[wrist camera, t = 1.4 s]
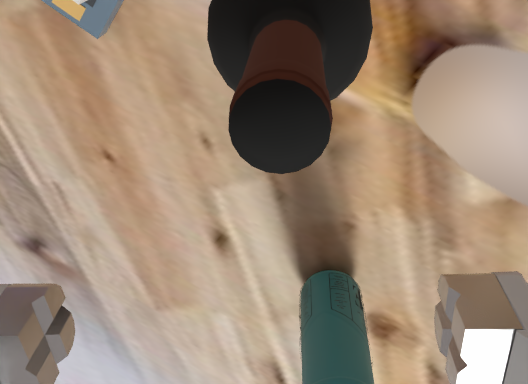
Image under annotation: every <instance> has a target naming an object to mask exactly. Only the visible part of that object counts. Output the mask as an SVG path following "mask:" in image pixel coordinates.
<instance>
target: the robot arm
mask: <svg viewBox="0 0 528 384" xmlns="http://www.w3.org/2000/svg"><path fill="white" fill-rule="evenodd" d="M437 290H438V293H439V296H440V299H441V301H440V302H439V303H438V304H437V305H436V306H435V316H434V323H435V334H436V340H437V344H438V347H439V350H440V352H441V353H442V354H443V355H444V356H446V357H447V362H446V369H445V370H446V373H447V376H448V379H449V382H450V384H528V284H527V283H526V281H525V279H524V278H523V276H522V274H520V273H519V272H517V271H515V272H493V273H479V274H446V275H440V278H439V281H438V289H437ZM64 300H65V295H64V293H63V290H62V288H61V286H59V285H57V284H0V384H54V382H55V380H56V378H57V376H58V374H59V370H58V367H57V363H59V362H60V361H61V360H63V359H64V358H65V357H67V356H68V354H69V352H70V350H71V348H72V345H73V341H74V335H75V326H74V320H73V317H72V314H71V312H69V311H68V310H67V309H66V308H64V307H63V306H62V304H63V302H64Z"/></svg>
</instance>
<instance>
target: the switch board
mask: <svg viewBox="0 0 528 384" xmlns="http://www.w3.org/2000/svg"><path fill="white" fill-rule="evenodd" d="M42 1H43V2H45V3H46V4H47V5H49V6H50V7H52V8H53V9H55V10H56V11H58V12H59V13H61V14H62V15H63V16H65V17H66V18H68V19H69V20H71V21H72V22H74V23H75V24H77V25H78V26H79V27H81V28H82V29H84V30H85V31H87V32H88V33H90V34H91V35H93V36H94V37H95V38H97V39H98V38H99V37H101V36H102V35H104V34H105V33H106V32H107V30H108V28H109V26H110V24H111V23H112V21H113V19H114V17H115V15H116V14H117V12H118V10H119V8H120V6H121V4H122V3H123V1H124V0H87V1H85V2H83V3H81V4H79V5H78V4H77V3H75V2H74V1H73V0H42Z"/></svg>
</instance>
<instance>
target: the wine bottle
mask: <svg viewBox="0 0 528 384" xmlns="http://www.w3.org/2000/svg"><path fill="white" fill-rule="evenodd" d="M372 29H373V26H372V17H371V8H370V0H212V1H211V4H210V6H209V12H208V43H209V47H210V50H211V54H212V58H213V61H214V64H215V66H216V68H217V69H218V71H219V72H220V74H221V75H222V77H223V79H224V80H225V82H226V83H227V85H228V86H229V87H231V88H232V89H233V90H234V91H235V93H234V96H233V99H232V102H231V105H230V112H229V133H230V137H231V141H232V144H233V146H234V147H235V149H236V150H237V152H238V153H239V155H240V157H242V158H243V159H244V160H245V161H246V162H248V163H249V164H250V165H251V166H253V167H255V168H258V169H260V170H262V171H265V172H269V173H278V174H284V173H290V172H297V171H299V170H301V169H303V168H305V167H307V166H309V165H311V164H312V163H313V162H314V161H315V160H316V159H317V158H318V157H320V156H321V154H322V153H323V151H324V149H325V147H326V146H327V144H328V142H329V137H330V131H331V125H332V119H333V117H332V110H331V103H330V101H331V100H333V99H335V98H336V97H337V96H338V95H340V94H341V93H342V92H343V91H344V90H345V89H346V88H347V87H348V86H349V85H350V84H351V83H352V82H353V81H354V80H355V78H356V76H357V74H358V73H359V71H360V69H361V67H362V65H363V63H364V62H365V60H366V58H367V54H368V49H369V44H370V39H371V34H372Z"/></svg>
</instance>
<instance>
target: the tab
mask: <svg viewBox="0 0 528 384" xmlns="http://www.w3.org/2000/svg"><path fill="white" fill-rule="evenodd" d="M73 1H74V2H75V3H77V4H78V5H79V4H81V3H83V2H85V1H87V0H73Z"/></svg>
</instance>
